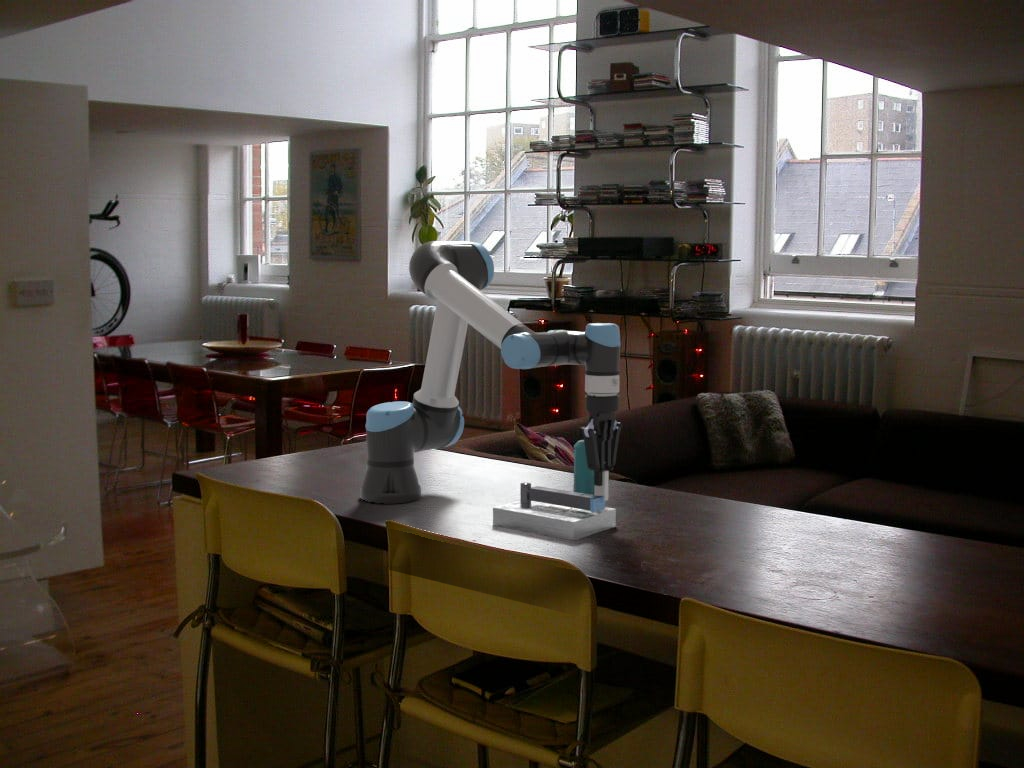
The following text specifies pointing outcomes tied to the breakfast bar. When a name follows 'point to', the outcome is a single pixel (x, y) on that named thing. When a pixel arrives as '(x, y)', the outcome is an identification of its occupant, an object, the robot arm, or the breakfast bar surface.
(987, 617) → the breakfast bar surface
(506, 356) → the robot arm
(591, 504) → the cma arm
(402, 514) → the breakfast bar surface
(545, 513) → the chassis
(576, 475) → the beverage bottle
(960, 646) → the breakfast bar surface
